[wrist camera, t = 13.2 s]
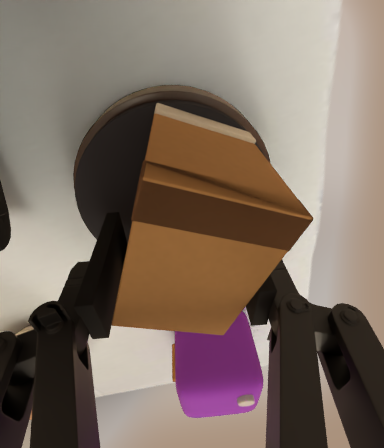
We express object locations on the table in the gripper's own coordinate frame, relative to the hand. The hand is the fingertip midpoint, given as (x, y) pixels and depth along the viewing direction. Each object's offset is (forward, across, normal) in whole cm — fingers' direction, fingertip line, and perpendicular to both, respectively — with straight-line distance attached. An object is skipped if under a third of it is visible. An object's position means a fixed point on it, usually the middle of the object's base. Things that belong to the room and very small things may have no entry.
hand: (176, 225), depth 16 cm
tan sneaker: (+3, 0, 0) cm, 3 cm away
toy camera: (+5, +4, -24) cm, 25 cm away
